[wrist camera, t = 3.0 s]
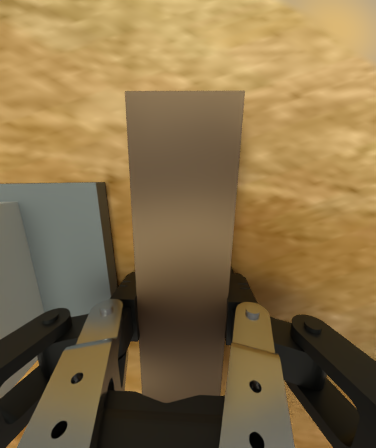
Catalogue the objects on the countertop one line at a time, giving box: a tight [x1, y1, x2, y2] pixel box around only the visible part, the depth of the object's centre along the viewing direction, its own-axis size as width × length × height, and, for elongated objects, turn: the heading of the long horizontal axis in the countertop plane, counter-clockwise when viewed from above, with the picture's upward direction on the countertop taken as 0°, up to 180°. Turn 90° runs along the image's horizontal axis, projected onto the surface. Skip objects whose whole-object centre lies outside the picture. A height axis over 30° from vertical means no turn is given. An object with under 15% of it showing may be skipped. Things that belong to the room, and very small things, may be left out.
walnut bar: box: [125, 91, 245, 403], centre depth 10 cm, size 18×4×4 cm, turn 179°
